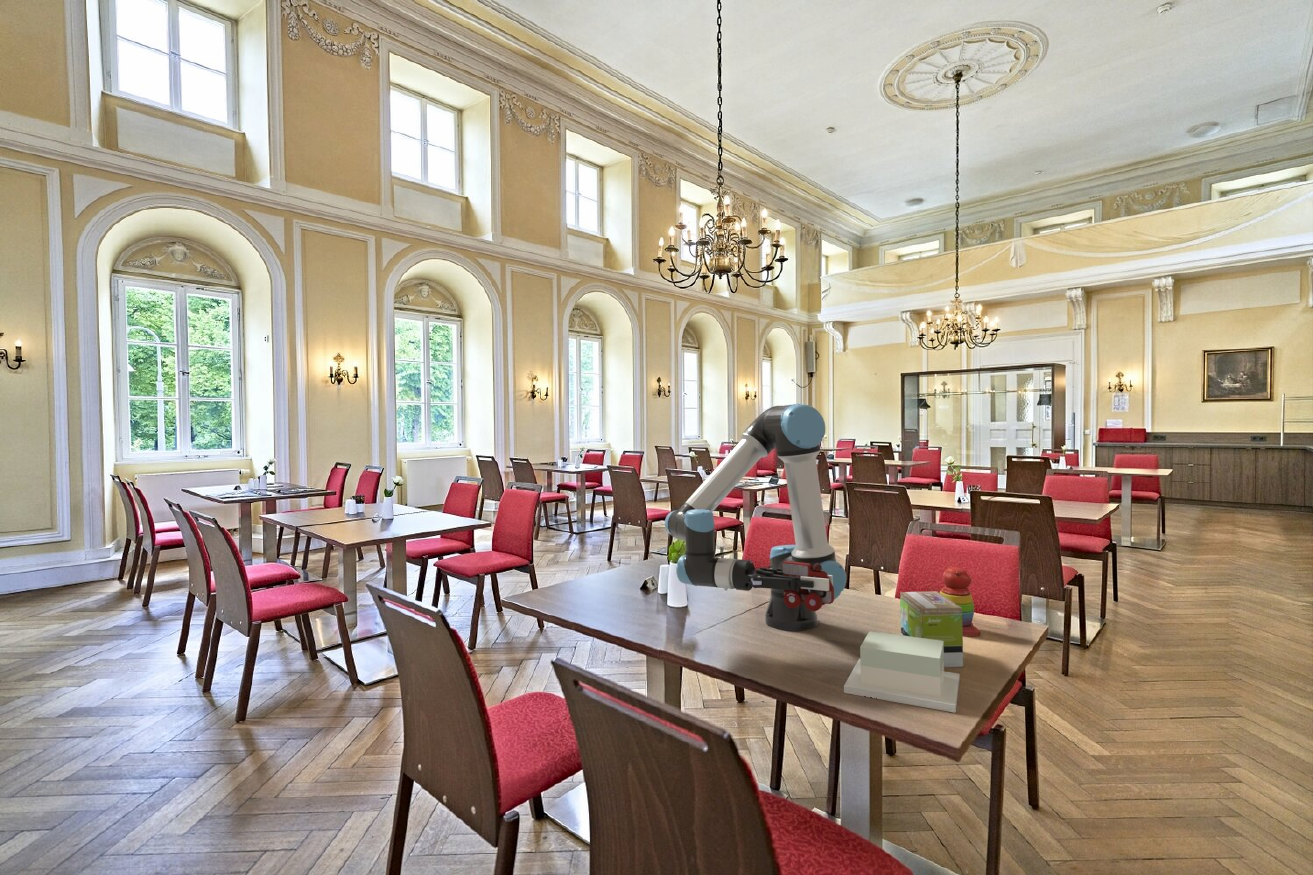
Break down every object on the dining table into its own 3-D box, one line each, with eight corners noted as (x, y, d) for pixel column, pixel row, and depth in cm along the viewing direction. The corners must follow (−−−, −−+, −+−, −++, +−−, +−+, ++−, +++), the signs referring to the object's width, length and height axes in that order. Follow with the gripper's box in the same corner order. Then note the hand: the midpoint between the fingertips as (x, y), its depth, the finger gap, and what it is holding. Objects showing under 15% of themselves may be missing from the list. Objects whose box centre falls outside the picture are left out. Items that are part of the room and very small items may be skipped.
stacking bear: (982, 637, 170) (981, 572, 169) (942, 635, 172) (942, 571, 171) (971, 624, 180) (970, 563, 180) (933, 623, 182) (932, 562, 182)
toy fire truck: (828, 613, 142) (827, 568, 142) (777, 606, 149) (776, 563, 149) (837, 606, 148) (836, 562, 148) (788, 599, 155) (787, 557, 154)
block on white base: (844, 692, 136) (843, 649, 136) (859, 664, 152) (858, 625, 152) (955, 712, 126) (955, 665, 125) (959, 680, 141) (958, 638, 141)
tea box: (899, 646, 164) (898, 590, 164) (938, 646, 164) (937, 590, 163) (922, 668, 149) (921, 606, 149) (964, 668, 149) (964, 606, 148)
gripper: (747, 581, 164) (838, 590, 153) (724, 597, 150) (822, 608, 139) (746, 553, 164) (837, 560, 153) (723, 566, 150) (822, 574, 139)
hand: (830, 583), depth 146 cm, fingers closed on toy fire truck, 3 cm apart
